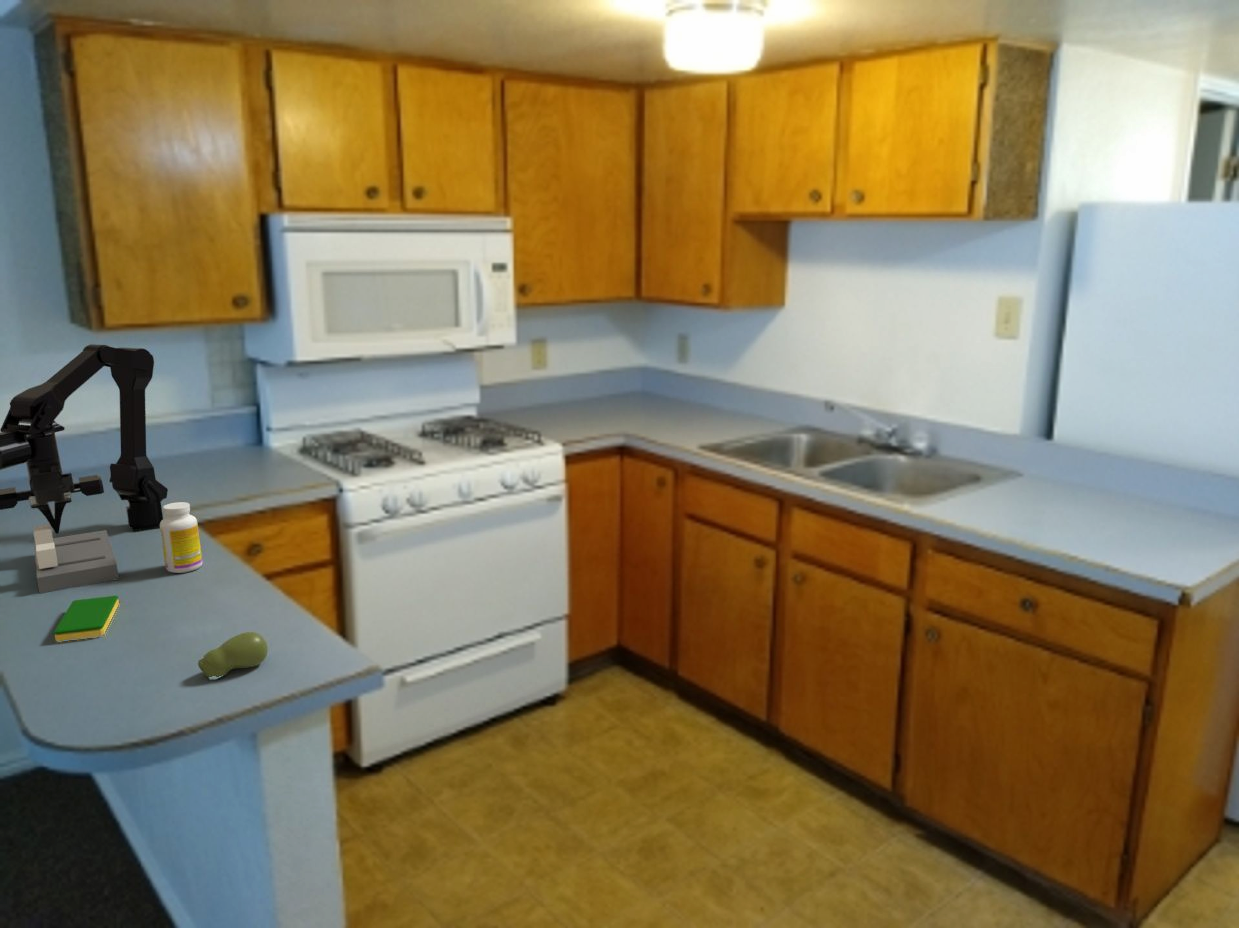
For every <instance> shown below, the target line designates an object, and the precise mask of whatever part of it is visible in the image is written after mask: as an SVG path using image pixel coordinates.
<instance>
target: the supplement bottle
mask: <svg viewBox="0 0 1239 928" xmlns="http://www.w3.org/2000/svg"><path fill="white" fill-rule="evenodd" d="M190 511H191V506H190V503H189V502H186V501H185V502H184V501H183V502H181V501H179V502H171V503H168V504H165V505H163V507H162V514H163V515H164V516H165V517H163V520H162V521H161V523H160V527H159V529H160V537H161V543H162V544H161V545H162V551H163V557H164V558H163V559H164V566H165V569H166V571H168V572H169V573H174V574H183V573H191V572H193V571H195V570H198V569H200V568H201V567H202V566H203V556H202V555H203V554H202V546H201V541H200V533H199V524H198V519H197V518H196V517H195V516H194V515H192V514H190Z"/></svg>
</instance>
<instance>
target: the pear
mask: <svg viewBox="0 0 1239 928" xmlns="http://www.w3.org/2000/svg"><path fill="white" fill-rule="evenodd" d="M268 647H269V646H268V643H267V640H266V639H265V638H264V637H263V636H262V635H261V634H260V633H257V632H255V631H246V632H243V633H239V634H237V635H235V636H233V637H231V638H228V639H227V640H226V641H225V642H223V643H222V644H220V646H218V647H217V648H214V649H212V650H210V651H208V652H206V653H205V654H204V655H203V658H201V659H199V660H198V663H197V665H198V668H199V669H200V671H201V672H203V674H204V676H205V677H206V676H207V677H212V676H216V677H219V676H222V675H225V674H226V675H227V674H228V672H229V671H231V670H233V669H249V667H251V668H254V667H253V666H255V667H257V666H259V665H261V664H262V662H264V661H265V659H266V657H267V655H268ZM226 675H225V676H226ZM207 677H206V678H207Z"/></svg>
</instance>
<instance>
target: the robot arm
mask: <svg viewBox="0 0 1239 928" xmlns="http://www.w3.org/2000/svg"><path fill="white" fill-rule="evenodd" d="M154 366H155V359H154V355H153V354H151V352H150V351H148V350H147V349H145V348H140V347H139V348H137V347H112V346H109V345H106V344H95V343H94V344H93V343H92V344H88V345H85V347H84V348H83V350H82V351H81V352H80V353H79V354H77V355H76V356H75V357H74V358H73V359H72V360H70V361H69V362H68V363H66V365H64V366H62V368H60V370H58V371H57V372H56V373H54V375H52V376H51V377H50V378H48V379H47V380H46V381H45V382H43V383H41V384H38V385H36V386H32V387H30V388H27V389H25V390H24V391H21V392H20V393H18V394H17V395H14V396H13V398H11V400H10V402H9V405H10V406H9V408H8V409H9V410H8V412H7V414H6V416H5V419H4V420H3V422H2V425H1V426H0V471H1V470H5V469H9V468H13V467H15V466H20V465H23V464H26V470H27V474H28V479H29V481H28V482H29V488H30V489H28V490H27V489H25V490H20V491H17V488H16V486H14V487H8V488H1V489H0V511H1V510H8V509H14V508H15V507H16V506H17V504H19V503H18V502H22V501H28V502H29V504H30V509H38V510H39V512H41V513H42V515H43V516H44V517H45V519H46V520H47V522H48V523H49V525H51V529H52V530H53V532H54V533H55V534H56V535H57V534H59V533H60V527H61V522H62V521H61V520H62V517H63V512H64V510H65V507H66V505H67V504H70V503H72V502H73V501H72V494H74V493H80V492H81V494H82V495H84V496H86V497H90V496H96V495H102V494H104V493H105V489H104V484H103V480H102V477H100V476H99V475H98V474H94V475H88V476H81V477H78V482H74V480H73V475H72V473H71V472H69V473H68V472H67V473H63V468H62V464H61V459H60V454H59V448H58V441H57V438H56V433H58V432H64V430H65V429H66V428H65V426H63V425H61V424H59V423H58V422H56V421H55V420H56V419H57V417H58V416H59V415H60V413H61V412H62V411H63V410H64V407H65V403H66V401H67V399H68V398H69V397H70V396H72V395H73V393H75V392H76V391H77V390H79V388H81V387H82V386H83V385H84V384H86V382H87V381H89V380H90V379H91V378H92V377H93V376H94V375H96V374H97V373H98V372H99V371H100V370H101V369H103V368H104V367H107V368H109V369H110V374H111V377H112V379H113V381H114V383H115V385H116V386H117V387H118V390H119V426H120V428H119V429H120V432H119V433H120V456H119V458H118V459H117V461H116V463H109V464H110V465H109V471H110V478H109V483H111V484H112V485H111V486H112V489H113V490H114V491H115V492H116V493H117V494H118V496H119V498H120V500H121V501H127V504H128V506H125V511H126V516H127V524H128V526H129V528H131V529H132V532H139V531H145V530H146V531H147V530H152V529H157V528H159V529H160V523H161V521H162V520H163V519H164V516H163V515H164V513H163V507H162V502H163V500H164V499H165V500H166V499H167V497H168V492H169V490H168V487H166V486H165V485H163V484H162V483H160V482H159V481H158V480H157V479H156V474H155V473H156V472H155V468H154V465H153V464H152V463H151V461H150V459H149V457H148V456H147V423H146V420H147V419H146V417H147V416H146V414H147V413H146V389H147V388H148V386H149V384H150V382H151V381H152V379H153V374H154ZM52 502H53V510H52V508H51V505H50V503H52ZM53 513H54V514H53Z"/></svg>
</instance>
